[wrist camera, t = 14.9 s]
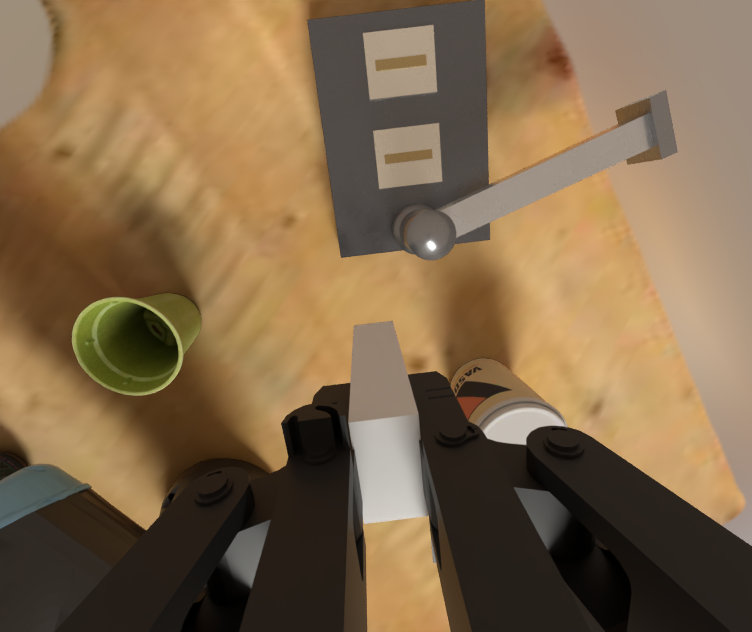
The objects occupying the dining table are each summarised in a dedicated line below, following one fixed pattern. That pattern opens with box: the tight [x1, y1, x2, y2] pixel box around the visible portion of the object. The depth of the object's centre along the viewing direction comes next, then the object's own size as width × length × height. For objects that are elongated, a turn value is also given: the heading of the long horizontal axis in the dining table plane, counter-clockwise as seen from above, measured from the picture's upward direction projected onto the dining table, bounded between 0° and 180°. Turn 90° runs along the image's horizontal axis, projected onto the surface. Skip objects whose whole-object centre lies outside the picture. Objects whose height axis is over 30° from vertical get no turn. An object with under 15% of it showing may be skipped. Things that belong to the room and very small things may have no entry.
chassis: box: [307, 0, 490, 258], centre depth 33 cm, size 15×20×6 cm
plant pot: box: [72, 293, 201, 396], centre depth 36 cm, size 9×9×9 cm
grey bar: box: [399, 90, 677, 260], centre depth 29 cm, size 21×4×6 cm, turn 115°
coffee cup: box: [450, 358, 567, 445], centre depth 39 cm, size 9×9×12 cm
